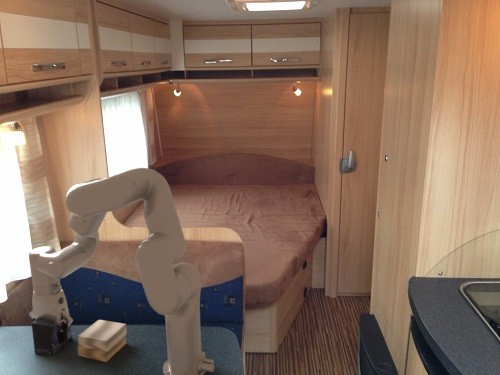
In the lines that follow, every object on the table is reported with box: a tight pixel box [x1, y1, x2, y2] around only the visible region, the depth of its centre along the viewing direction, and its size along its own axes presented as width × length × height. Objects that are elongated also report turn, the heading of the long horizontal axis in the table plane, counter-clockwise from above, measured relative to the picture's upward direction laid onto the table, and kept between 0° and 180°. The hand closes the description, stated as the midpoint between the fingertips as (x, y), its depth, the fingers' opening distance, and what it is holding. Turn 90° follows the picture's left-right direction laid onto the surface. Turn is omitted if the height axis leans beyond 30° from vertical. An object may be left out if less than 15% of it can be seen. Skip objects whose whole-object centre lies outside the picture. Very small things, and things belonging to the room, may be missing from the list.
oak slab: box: [77, 335, 127, 363], centre depth 135 cm, size 10×10×4 cm
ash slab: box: [77, 319, 128, 352], centre depth 134 cm, size 10×10×4 cm
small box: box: [31, 308, 73, 356], centre depth 136 cm, size 11×6×10 cm, turn 168°
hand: (53, 338), depth 137 cm, fingers closed on small box, 6 cm apart
